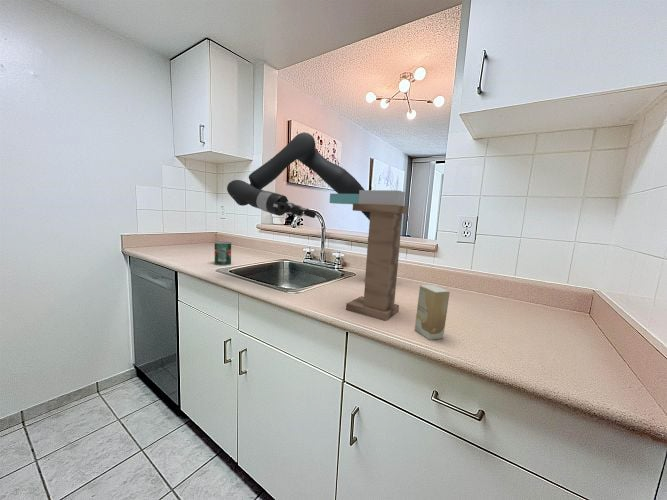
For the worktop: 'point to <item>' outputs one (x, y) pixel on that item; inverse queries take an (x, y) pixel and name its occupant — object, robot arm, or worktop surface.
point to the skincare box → (431, 311)
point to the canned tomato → (222, 253)
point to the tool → (370, 197)
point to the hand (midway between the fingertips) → (308, 214)
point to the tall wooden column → (380, 261)
